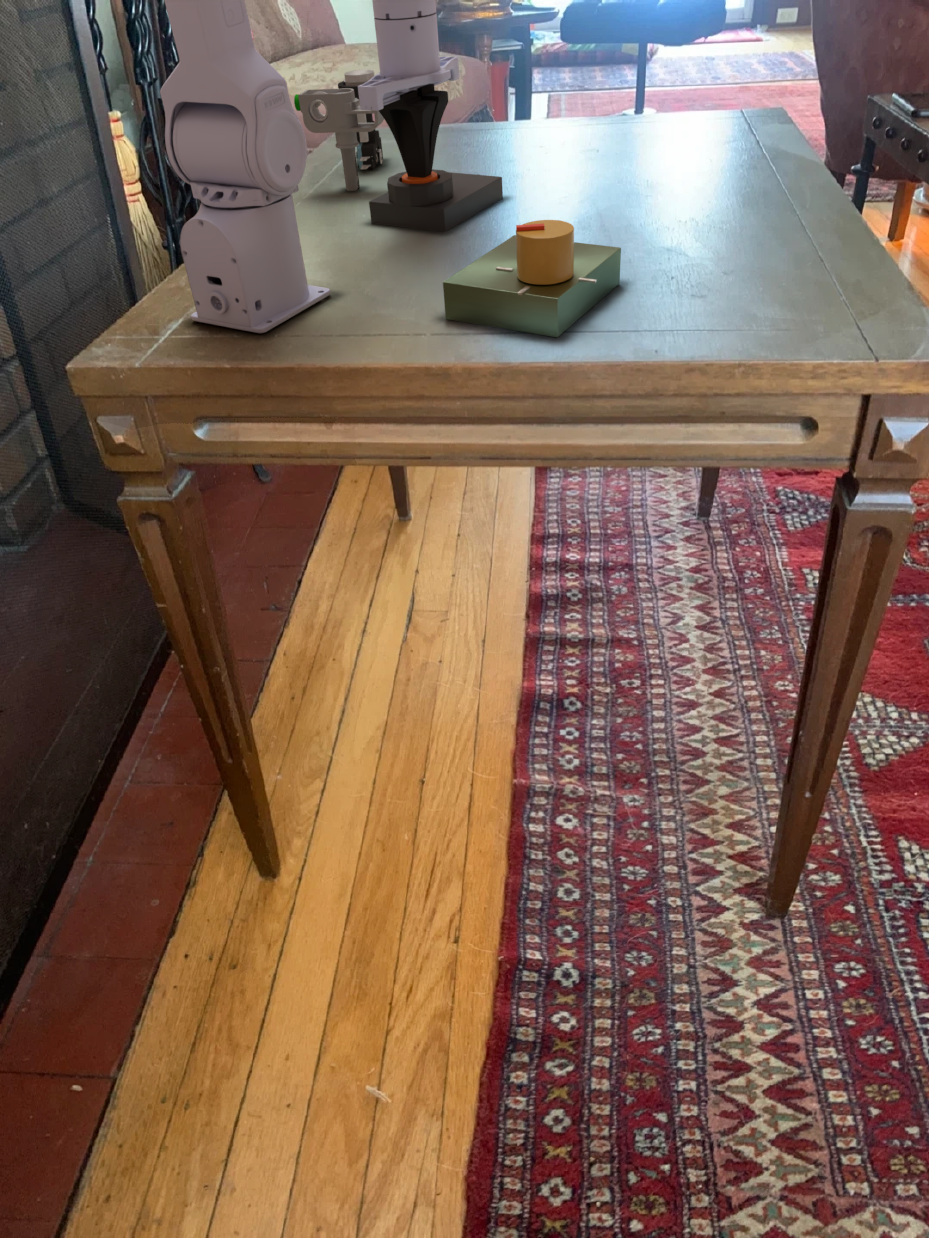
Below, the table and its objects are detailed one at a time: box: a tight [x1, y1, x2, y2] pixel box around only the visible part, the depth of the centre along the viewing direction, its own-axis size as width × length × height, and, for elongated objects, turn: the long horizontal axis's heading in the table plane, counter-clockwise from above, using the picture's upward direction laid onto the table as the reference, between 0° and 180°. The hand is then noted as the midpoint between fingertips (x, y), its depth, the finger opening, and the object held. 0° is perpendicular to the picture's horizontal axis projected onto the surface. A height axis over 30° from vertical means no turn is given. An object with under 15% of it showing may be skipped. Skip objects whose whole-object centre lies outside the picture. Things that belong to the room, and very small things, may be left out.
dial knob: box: [515, 219, 575, 285], centre depth 71 cm, size 4×4×4 cm
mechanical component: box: [293, 88, 385, 192], centre depth 102 cm, size 3×10×10 cm, turn 79°
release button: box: [402, 172, 438, 184], centre depth 93 cm, size 4×4×2 cm
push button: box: [337, 68, 384, 171], centre depth 110 cm, size 7×5×10 cm
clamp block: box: [442, 234, 622, 338], centre depth 75 cm, size 12×11×3 cm
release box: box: [368, 168, 504, 233], centre depth 96 cm, size 12×9×4 cm
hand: (419, 175), depth 93 cm, fingers closed, pressing on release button
